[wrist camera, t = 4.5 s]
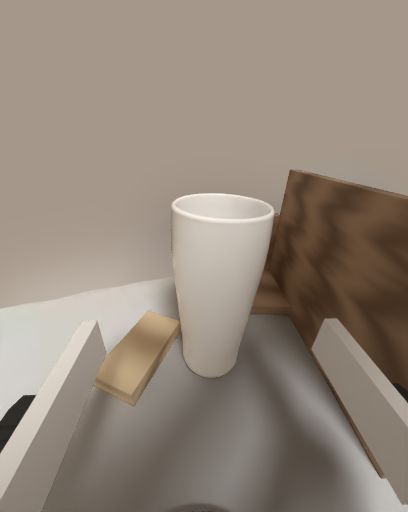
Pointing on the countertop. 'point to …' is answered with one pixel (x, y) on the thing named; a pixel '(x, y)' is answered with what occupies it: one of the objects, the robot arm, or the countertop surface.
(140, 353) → the offcut flat
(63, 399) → the robot arm
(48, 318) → the countertop surface
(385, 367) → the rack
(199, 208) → the drinking glass
